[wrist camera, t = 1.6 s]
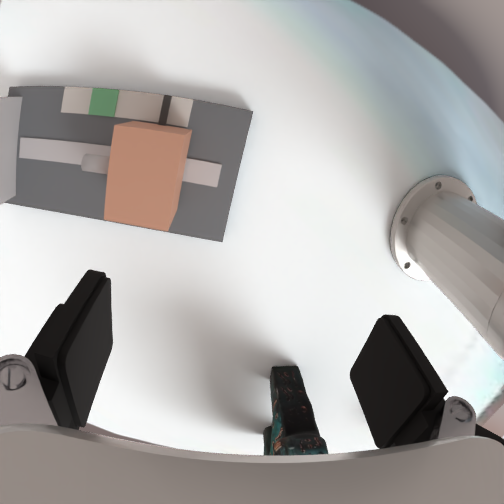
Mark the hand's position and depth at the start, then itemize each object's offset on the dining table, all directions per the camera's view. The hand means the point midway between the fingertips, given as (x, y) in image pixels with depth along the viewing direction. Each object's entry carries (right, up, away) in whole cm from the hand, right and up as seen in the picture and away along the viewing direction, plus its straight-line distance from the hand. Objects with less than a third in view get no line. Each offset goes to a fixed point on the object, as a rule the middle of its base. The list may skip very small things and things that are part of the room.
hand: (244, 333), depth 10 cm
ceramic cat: (+4, -19, +33) cm, 38 cm away
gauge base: (-13, +12, +16) cm, 24 cm away
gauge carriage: (-9, +11, +14) cm, 20 cm away
